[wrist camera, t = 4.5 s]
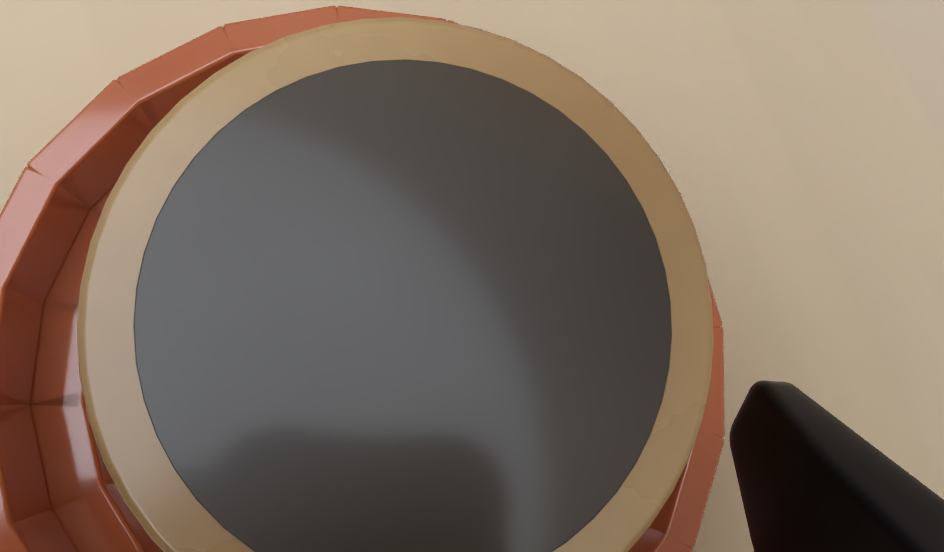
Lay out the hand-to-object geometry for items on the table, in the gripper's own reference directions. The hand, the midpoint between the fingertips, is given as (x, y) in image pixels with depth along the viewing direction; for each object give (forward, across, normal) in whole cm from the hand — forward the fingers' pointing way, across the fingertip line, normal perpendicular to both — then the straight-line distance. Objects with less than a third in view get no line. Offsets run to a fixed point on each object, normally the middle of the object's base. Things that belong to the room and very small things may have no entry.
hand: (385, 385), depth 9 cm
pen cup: (+6, 0, +5) cm, 8 cm away
